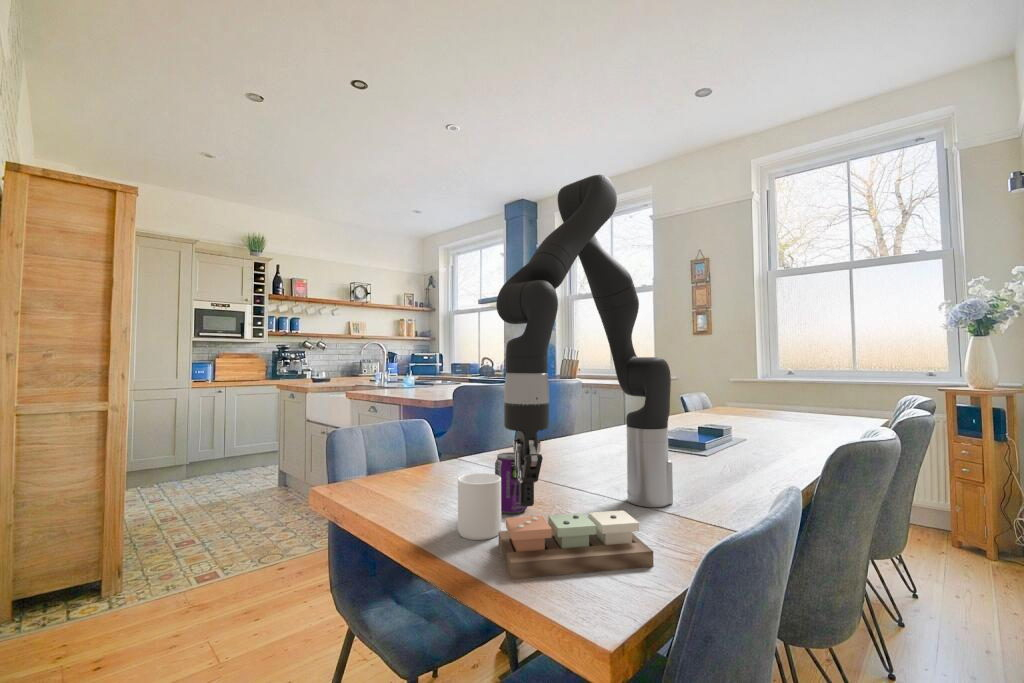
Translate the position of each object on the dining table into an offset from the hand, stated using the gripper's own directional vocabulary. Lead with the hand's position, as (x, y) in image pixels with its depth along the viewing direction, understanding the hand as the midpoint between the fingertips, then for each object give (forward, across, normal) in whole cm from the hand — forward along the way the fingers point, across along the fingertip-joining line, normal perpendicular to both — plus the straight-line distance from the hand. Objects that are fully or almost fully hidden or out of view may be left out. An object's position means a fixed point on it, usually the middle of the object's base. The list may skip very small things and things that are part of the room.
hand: (526, 504), depth 78 cm
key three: (+7, 0, 0) cm, 7 cm away
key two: (+7, 0, -8) cm, 10 cm away
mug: (+9, +15, +6) cm, 19 cm away
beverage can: (+9, +25, -2) cm, 27 cm away
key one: (+7, 0, -15) cm, 17 cm away
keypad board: (+9, 0, -8) cm, 12 cm away
